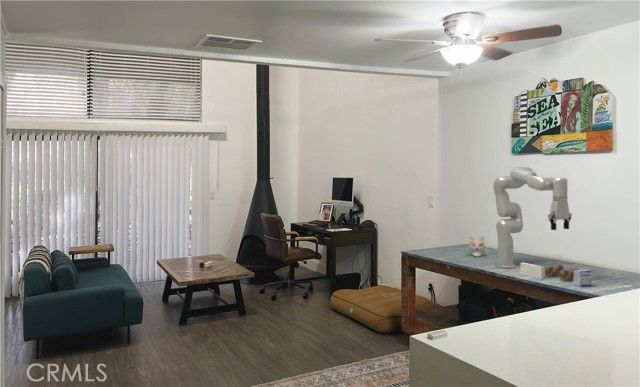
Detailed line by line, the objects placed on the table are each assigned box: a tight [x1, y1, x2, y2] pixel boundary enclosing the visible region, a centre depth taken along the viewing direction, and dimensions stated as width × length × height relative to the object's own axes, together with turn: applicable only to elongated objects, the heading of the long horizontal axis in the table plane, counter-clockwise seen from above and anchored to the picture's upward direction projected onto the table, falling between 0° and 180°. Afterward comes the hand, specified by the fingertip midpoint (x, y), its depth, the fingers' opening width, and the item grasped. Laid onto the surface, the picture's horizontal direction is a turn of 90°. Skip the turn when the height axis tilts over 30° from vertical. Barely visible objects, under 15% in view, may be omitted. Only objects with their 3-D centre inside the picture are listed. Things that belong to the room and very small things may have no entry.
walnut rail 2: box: [559, 268, 580, 282], centre depth 270 cm, size 12×2×6 cm, turn 111°
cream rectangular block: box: [520, 262, 545, 280], centre depth 282 cm, size 16×2×7 cm, turn 21°
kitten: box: [465, 235, 487, 258], centre depth 351 cm, size 15×10×15 cm
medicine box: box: [573, 268, 592, 288], centre depth 257 cm, size 8×4×9 cm, turn 105°
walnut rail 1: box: [544, 264, 564, 278], centre depth 281 cm, size 12×2×6 cm, turn 111°
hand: (559, 229), depth 269 cm, fingers open, 9 cm apart
